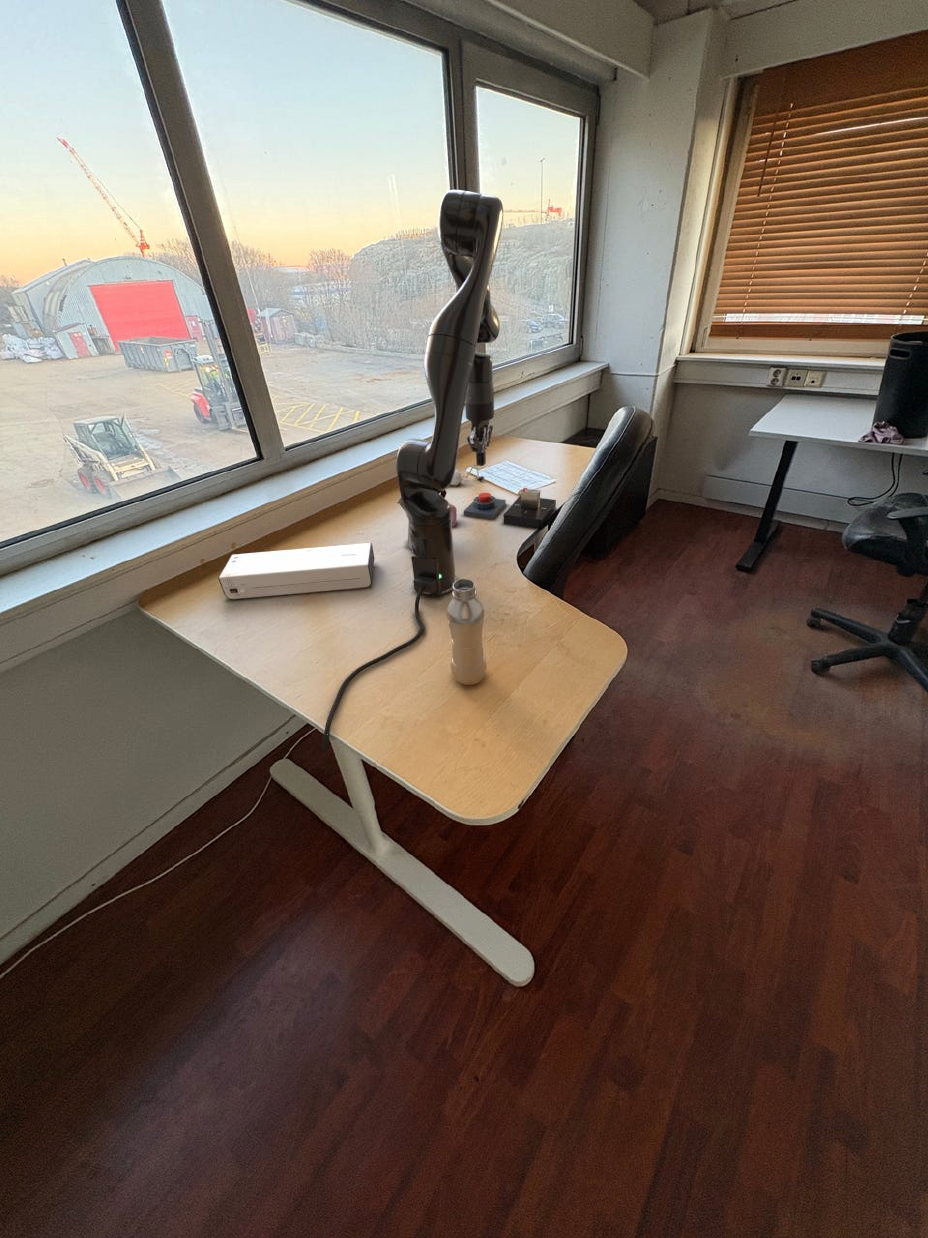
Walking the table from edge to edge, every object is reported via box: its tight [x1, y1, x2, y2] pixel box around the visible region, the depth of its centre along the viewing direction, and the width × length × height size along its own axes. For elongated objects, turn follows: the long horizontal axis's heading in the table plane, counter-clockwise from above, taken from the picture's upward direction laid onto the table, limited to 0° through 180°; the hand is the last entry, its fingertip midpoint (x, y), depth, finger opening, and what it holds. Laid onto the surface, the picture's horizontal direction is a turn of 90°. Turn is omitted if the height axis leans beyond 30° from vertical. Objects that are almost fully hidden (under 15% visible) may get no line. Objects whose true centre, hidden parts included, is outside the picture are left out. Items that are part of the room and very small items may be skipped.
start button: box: [478, 492, 492, 502], centre depth 148 cm, size 4×4×2 cm
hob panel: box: [503, 495, 557, 530], centre depth 144 cm, size 14×11×3 cm
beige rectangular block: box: [520, 487, 541, 509], centre depth 142 cm, size 5×2×5 cm, turn 65°
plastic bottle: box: [446, 578, 488, 686], centre depth 86 cm, size 6×7×20 cm
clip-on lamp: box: [450, 463, 485, 486], centre depth 169 cm, size 12×6×18 cm
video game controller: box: [449, 502, 458, 528], centre depth 143 cm, size 10×5×7 cm, turn 84°
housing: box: [463, 495, 507, 521], centre depth 149 cm, size 11×9×4 cm
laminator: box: [217, 542, 375, 601], centre depth 120 cm, size 34×12×6 cm, turn 95°
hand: (481, 464), depth 142 cm, fingers closed
